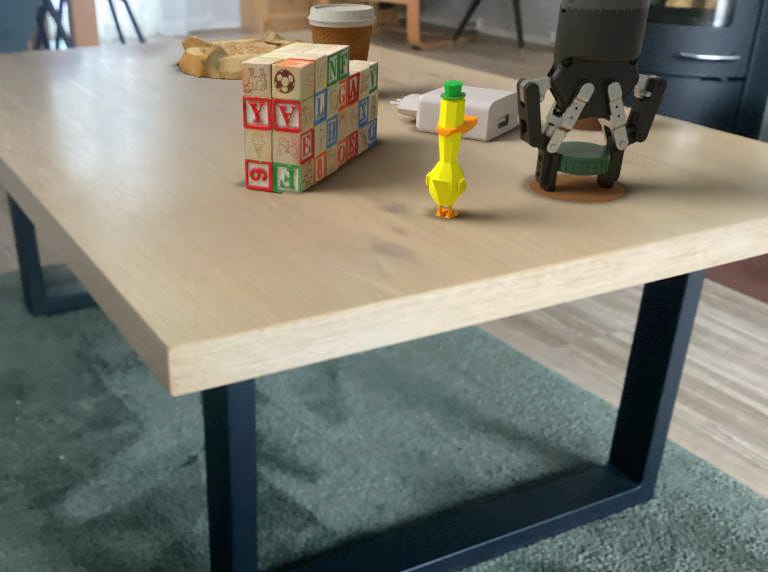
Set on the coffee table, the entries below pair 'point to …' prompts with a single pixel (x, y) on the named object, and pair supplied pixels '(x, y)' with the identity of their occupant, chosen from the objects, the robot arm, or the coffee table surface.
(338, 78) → the stack of blocks
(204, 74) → the tan flat lumpy slab
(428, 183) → the toy figure
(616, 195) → the coaster
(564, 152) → the lid
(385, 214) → the coffee table surface
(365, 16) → the disposable coffee cup
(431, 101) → the charger
